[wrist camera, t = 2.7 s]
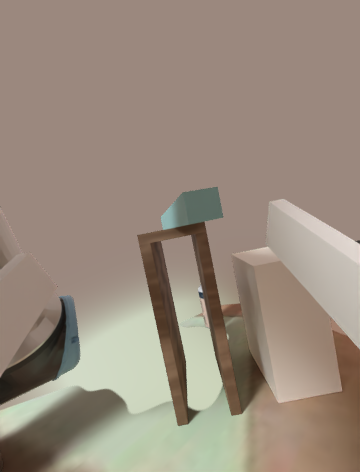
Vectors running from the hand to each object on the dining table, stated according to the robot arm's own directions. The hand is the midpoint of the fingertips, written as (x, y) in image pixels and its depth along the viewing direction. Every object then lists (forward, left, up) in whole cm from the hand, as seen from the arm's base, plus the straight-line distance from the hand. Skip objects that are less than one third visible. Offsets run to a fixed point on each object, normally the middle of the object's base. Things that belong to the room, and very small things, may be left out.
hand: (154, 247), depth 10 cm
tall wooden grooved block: (-16, +16, -29) cm, 37 cm away
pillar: (-4, +27, -29) cm, 40 cm away
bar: (-12, +15, +1) cm, 19 cm away
